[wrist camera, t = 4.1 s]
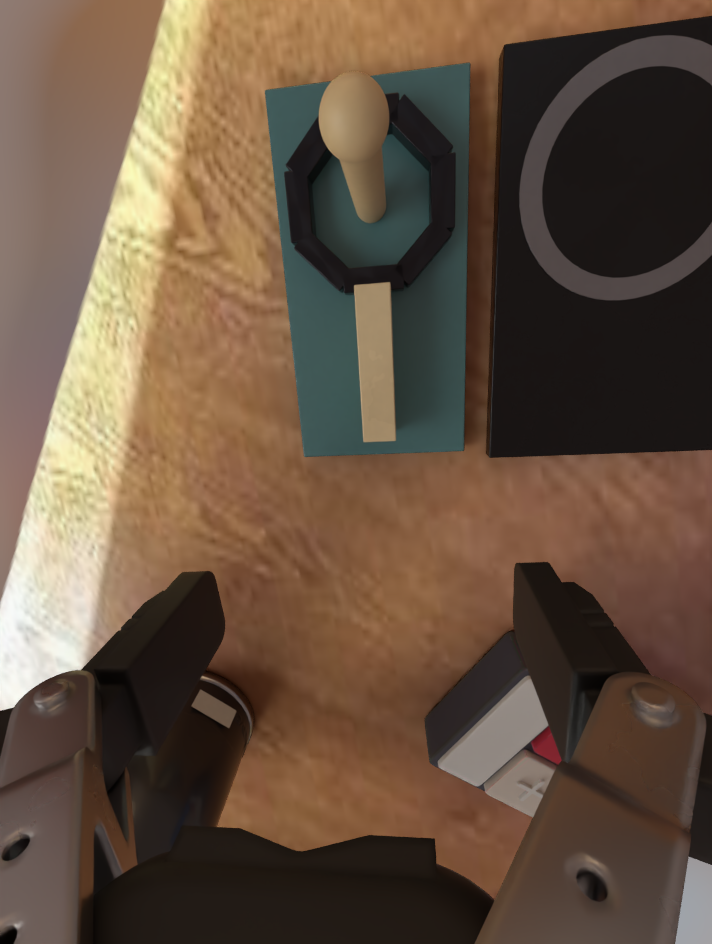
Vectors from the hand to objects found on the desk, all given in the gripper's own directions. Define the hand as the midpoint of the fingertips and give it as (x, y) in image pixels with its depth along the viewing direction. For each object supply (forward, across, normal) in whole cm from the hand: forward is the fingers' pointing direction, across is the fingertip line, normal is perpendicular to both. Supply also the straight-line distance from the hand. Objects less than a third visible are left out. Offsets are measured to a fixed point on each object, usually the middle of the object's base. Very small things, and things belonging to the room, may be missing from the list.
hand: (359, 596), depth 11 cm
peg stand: (+17, 0, -9) cm, 19 cm away
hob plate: (+17, -13, -8) cm, 23 cm away
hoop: (+16, 0, -9) cm, 18 cm away
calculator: (+17, -11, +23) cm, 31 cm away
